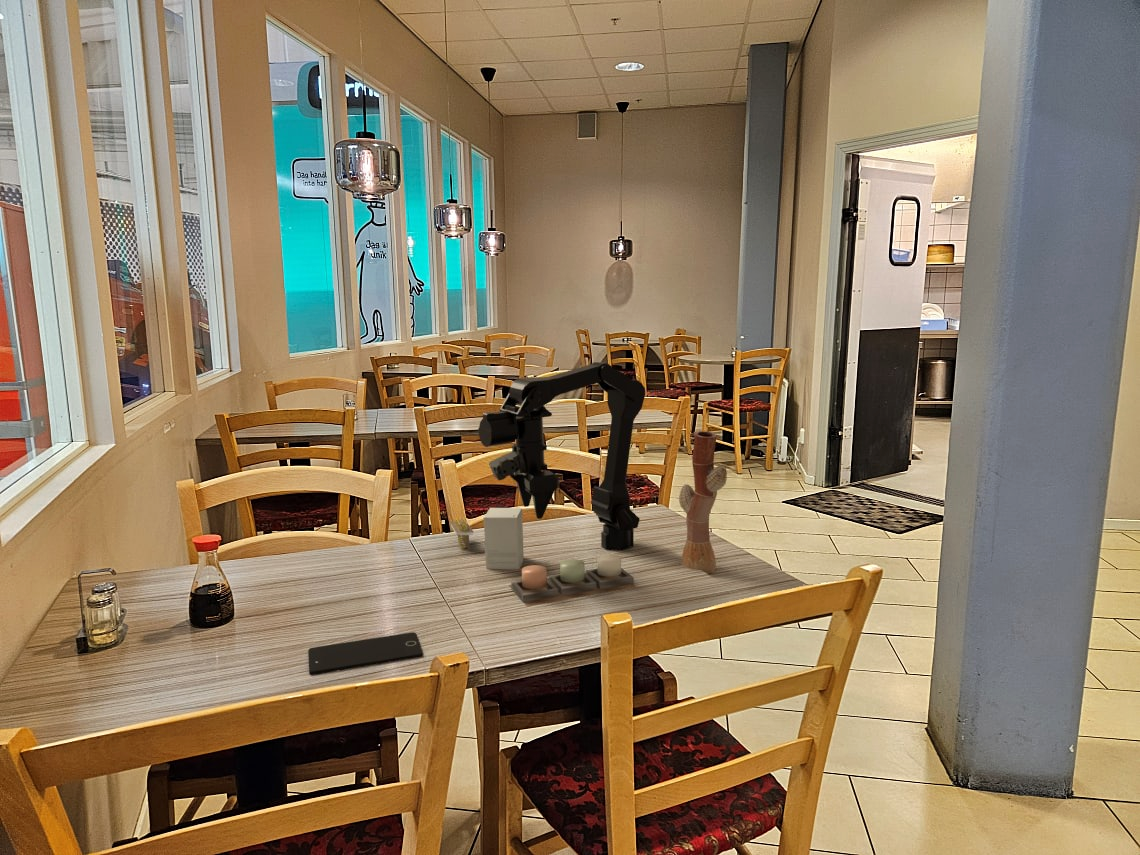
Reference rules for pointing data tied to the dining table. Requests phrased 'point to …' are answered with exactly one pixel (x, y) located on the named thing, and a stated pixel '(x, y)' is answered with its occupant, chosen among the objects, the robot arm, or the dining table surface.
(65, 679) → the dining table surface
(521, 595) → the brown compartment tray
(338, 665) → the cell phone
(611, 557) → the cream button
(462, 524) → the toothpick holder
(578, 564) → the sage green rounded piece
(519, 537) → the supplement box
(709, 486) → the vase
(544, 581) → the terracotta button
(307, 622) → the dining table surface
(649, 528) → the dining table surface
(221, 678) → the dining table surface
